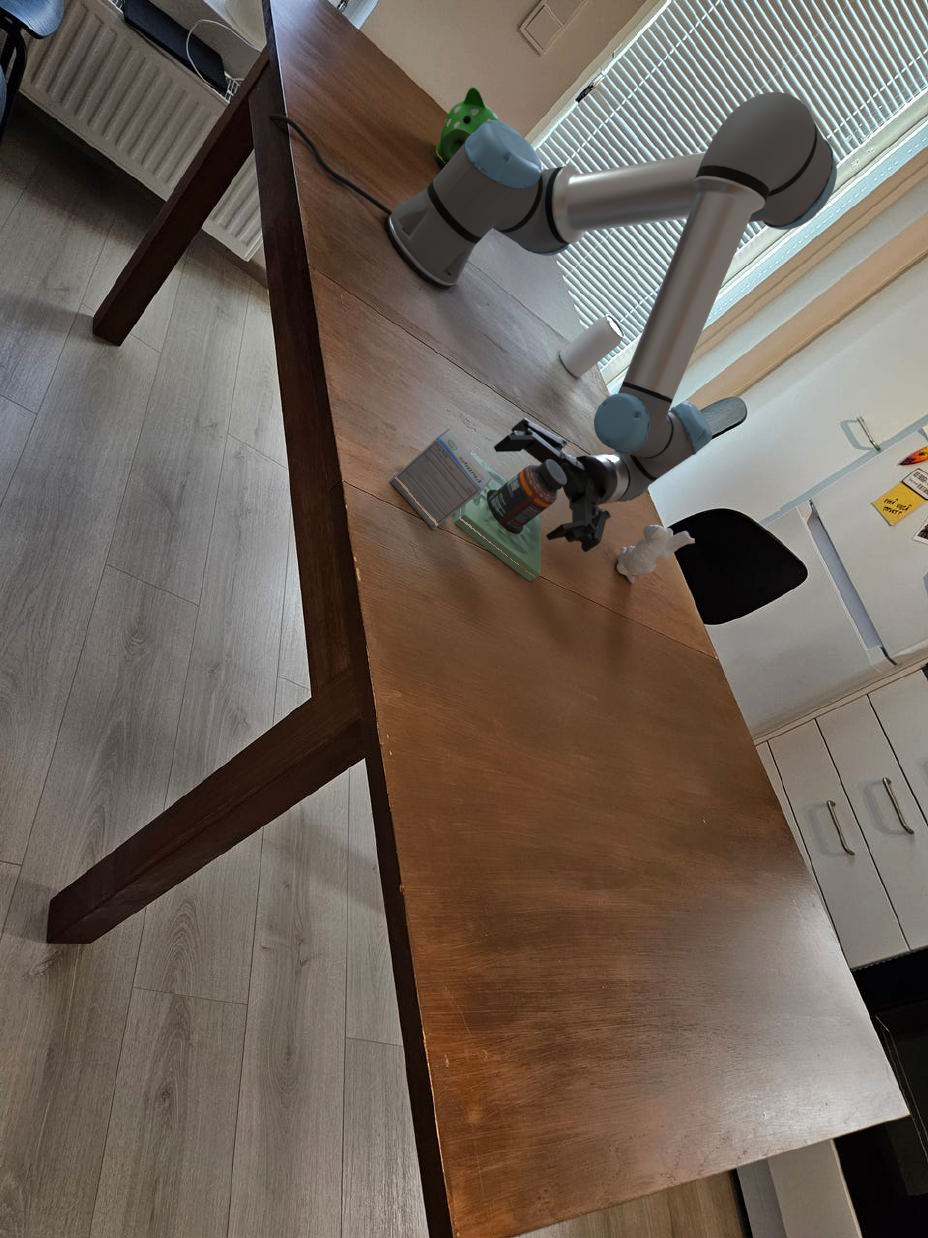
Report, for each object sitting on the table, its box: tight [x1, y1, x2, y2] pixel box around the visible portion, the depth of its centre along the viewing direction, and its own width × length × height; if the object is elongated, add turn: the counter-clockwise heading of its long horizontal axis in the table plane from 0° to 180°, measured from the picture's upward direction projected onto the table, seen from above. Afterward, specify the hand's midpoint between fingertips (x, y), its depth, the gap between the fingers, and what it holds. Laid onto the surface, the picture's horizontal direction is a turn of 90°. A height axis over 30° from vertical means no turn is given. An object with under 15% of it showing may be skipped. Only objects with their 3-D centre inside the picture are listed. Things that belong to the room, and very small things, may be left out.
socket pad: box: [453, 450, 542, 583], centre depth 108 cm, size 14×14×2 cm
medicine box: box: [390, 428, 491, 531], centre depth 95 cm, size 8×4×9 cm, turn 65°
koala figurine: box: [616, 524, 696, 584], centre depth 128 cm, size 8×7×12 cm
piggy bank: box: [433, 86, 501, 165], centre depth 166 cm, size 14×18×15 cm
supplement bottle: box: [487, 459, 567, 533], centre depth 105 cm, size 6×6×11 cm
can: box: [559, 313, 626, 378], centre depth 159 cm, size 6×6×12 cm
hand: (528, 487), depth 103 cm, fingers open, 13 cm apart
